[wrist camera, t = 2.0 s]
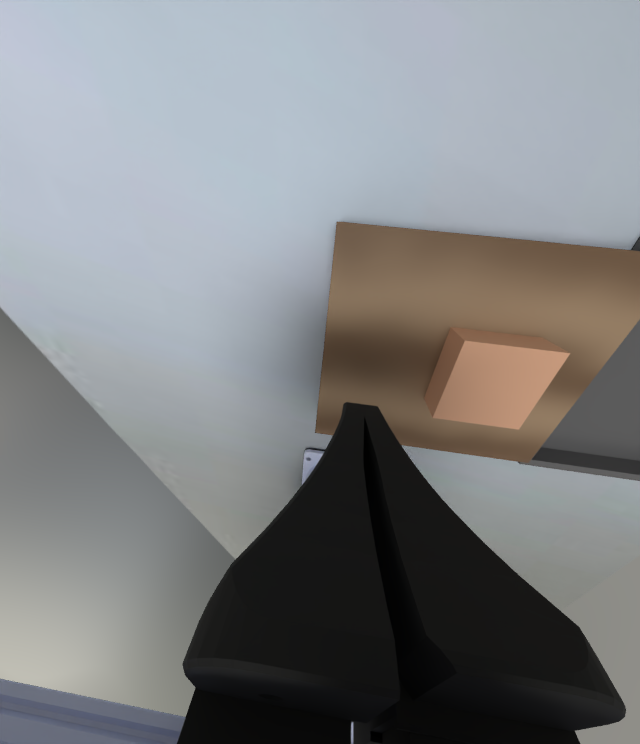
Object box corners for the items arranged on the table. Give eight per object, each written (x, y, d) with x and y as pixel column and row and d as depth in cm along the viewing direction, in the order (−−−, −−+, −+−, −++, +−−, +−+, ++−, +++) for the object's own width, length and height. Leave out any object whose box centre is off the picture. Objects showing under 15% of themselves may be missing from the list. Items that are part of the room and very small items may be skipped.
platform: (506, 434, 21) (528, 463, 18) (319, 408, 22) (315, 432, 19) (624, 251, 14) (688, 256, 11) (339, 222, 14) (336, 221, 12)
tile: (500, 408, 16) (518, 429, 14) (423, 398, 16) (432, 418, 15) (542, 337, 14) (570, 353, 12) (450, 326, 14) (464, 340, 12)
